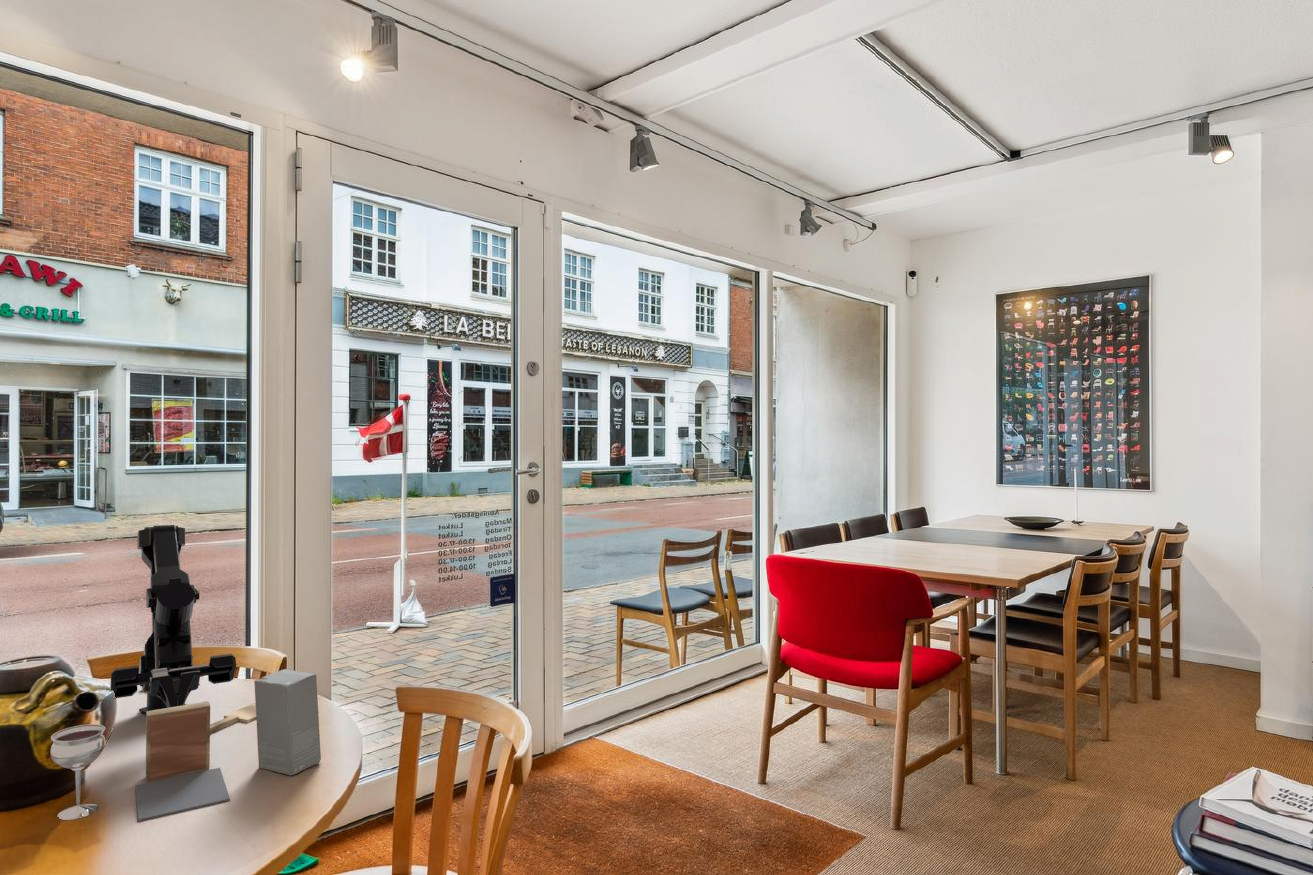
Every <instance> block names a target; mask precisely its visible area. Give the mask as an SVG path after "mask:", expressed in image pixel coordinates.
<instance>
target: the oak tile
mask: <svg viewBox="0 0 1313 875" xmlns="http://www.w3.org/2000/svg"><path fill="white" fill-rule="evenodd" d="M145 715H146V719H145V721H146V722H145V723H146V726H145V783H148V782H152V781H157V780H162V779H167V778H172V777H177V776H181V775H186V774H191V773H196V772H201V771H206V770H210V769H211V768H210V760H211V759H210V757H211V756H210V755H211V754H210V753H211V746H210V744H211V733H210V724H211V703H210V701H209V700H208V701H201V702H196V703H190V704H186V705H182V706H176V707H170V708H164V709H158V710H151V711H146V714H145Z"/></svg>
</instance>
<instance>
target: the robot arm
mask: <svg viewBox="0 0 1313 875" xmlns="http://www.w3.org/2000/svg"><path fill="white" fill-rule="evenodd" d="M143 528H144V529H140V530H138V532H137V535H136V536H137V540H136V541H137V550H141V551H140V552H141V560H142V562H143V563H144V564H145V565H146V566H147V567H148V568H149V571H150V582H149V583H150V586H149V588H146V592H145V605H146V608H148V609H150V612H151V635H150V636H149V637H148V639H147V640H146V642H145V644H144V647H143V648H144V649H143V654H141V655H140V656H139V665H132V666H126V667H125V666H124V667H117V668H114V669H113V670H112V671H111V672H110V683H109V684H110V688H111V690H113V691H114V693H115V697H116V698H115V699H121V698H127V697H133V696H134V695H135V694H136V693H137V692H138V686H140V687H141V688H142V686H144V690H143V692H144V693H146V706H144V707H141V708H139V709H138V712H139V713H142V714H145V715H146V711H151V710H158V709H164V708H170V707H176V706H182V705H187V704H186V701H187V700H188V697H189V695H190V693H191V692H192V691H196V690H198V689H199V686H200V685H199V684H200V679H201V677H206V676H207V678H208V679H207V680H208V682H210V684H213V685H215V684H222V683H223V684H224V683H229V682H231V681H233V680H234V678H235V673H236V668H237V660H236V656H235V655H233V653H227V654H219V655H210V658H209V663H208V664H207V663H206V664H200V665H194V655H193V644H192V630H191V629H192V628H191V618H192V616H193V611H194V610H193V609H194V604H196V603H197V600H200V592H199V590H198V589H196V588H195V585H194V584H191V582H190V575H189V574H188V573H187V572H186V571H184V570H182V569H181V565H180V564H181V563H180V556H181V550H182V547H185V546H186V528H185V527H182V526H181V527H179V526H178V525H175V524H165V525H164V524H163V525H162V524H161V525H153V526H145V527H143Z"/></svg>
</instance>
